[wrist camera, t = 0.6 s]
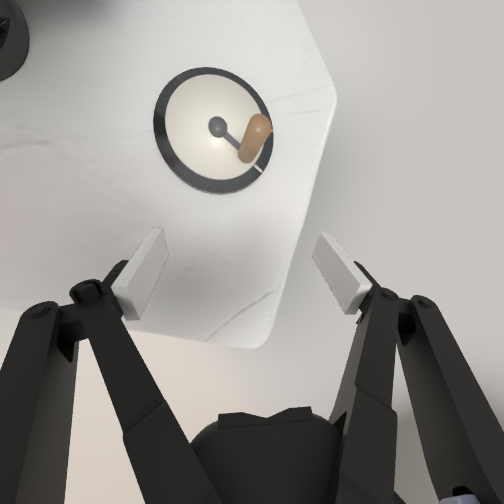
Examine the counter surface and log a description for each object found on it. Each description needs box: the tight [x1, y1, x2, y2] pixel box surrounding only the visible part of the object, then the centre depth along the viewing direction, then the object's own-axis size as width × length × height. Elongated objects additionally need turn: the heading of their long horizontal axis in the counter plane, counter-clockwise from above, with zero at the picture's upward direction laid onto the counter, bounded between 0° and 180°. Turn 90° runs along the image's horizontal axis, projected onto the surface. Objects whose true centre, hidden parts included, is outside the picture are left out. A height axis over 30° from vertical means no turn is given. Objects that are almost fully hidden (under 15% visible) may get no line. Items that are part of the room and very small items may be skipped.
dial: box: [165, 74, 272, 180], centre depth 28 cm, size 16×16×10 cm
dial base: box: [153, 67, 273, 194], centre depth 34 cm, size 20×20×2 cm
